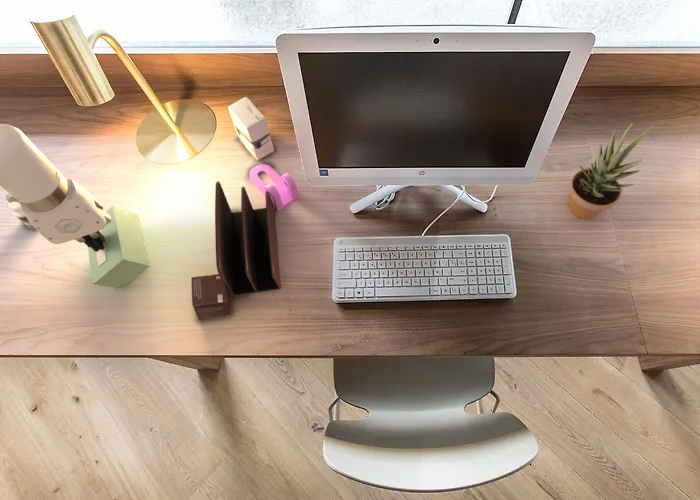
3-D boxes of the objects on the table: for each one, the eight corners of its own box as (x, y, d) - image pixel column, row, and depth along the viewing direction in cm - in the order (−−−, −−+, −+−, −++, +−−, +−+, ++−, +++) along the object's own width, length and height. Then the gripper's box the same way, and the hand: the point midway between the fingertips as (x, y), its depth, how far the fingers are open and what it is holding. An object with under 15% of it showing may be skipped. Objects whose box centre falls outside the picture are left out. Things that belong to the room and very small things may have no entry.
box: (198, 292, 98) (190, 276, 91) (228, 288, 99) (224, 272, 92) (199, 321, 95) (191, 306, 89) (230, 317, 96) (225, 302, 90)
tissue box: (92, 283, 95) (122, 259, 92) (84, 230, 100) (111, 205, 98) (121, 289, 100) (150, 266, 97) (111, 238, 106) (138, 214, 103)
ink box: (239, 142, 117) (226, 105, 107) (256, 131, 118) (245, 94, 108) (258, 164, 114) (246, 128, 103) (276, 153, 115) (266, 117, 104)
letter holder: (232, 298, 98) (212, 267, 85) (230, 215, 107) (211, 176, 95) (282, 291, 98) (269, 259, 86) (276, 209, 107) (263, 169, 95)
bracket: (299, 199, 108) (295, 180, 102) (278, 213, 107) (273, 194, 101) (265, 164, 113) (259, 143, 107) (245, 176, 112) (238, 157, 106)
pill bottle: (25, 229, 108) (0, 208, 100) (36, 211, 110) (12, 189, 102) (44, 233, 107) (20, 212, 100) (55, 215, 109) (32, 193, 102)
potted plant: (602, 189, 106) (661, 106, 85) (609, 227, 102) (673, 149, 80) (555, 187, 107) (601, 103, 85) (559, 224, 103) (609, 146, 81)
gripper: (-4, 224, 77) (62, 274, 93) (92, 192, 79) (140, 246, 95) (-6, 187, 80) (58, 242, 97) (86, 158, 82) (134, 216, 99)
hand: (99, 244), depth 96 cm, fingers closed
